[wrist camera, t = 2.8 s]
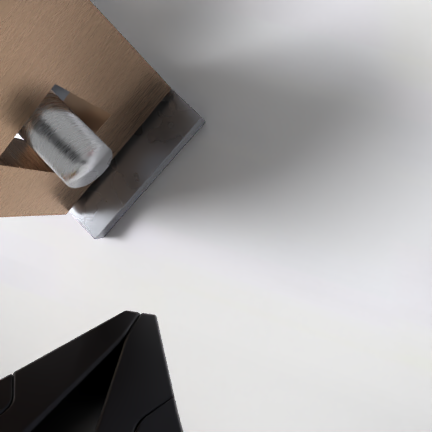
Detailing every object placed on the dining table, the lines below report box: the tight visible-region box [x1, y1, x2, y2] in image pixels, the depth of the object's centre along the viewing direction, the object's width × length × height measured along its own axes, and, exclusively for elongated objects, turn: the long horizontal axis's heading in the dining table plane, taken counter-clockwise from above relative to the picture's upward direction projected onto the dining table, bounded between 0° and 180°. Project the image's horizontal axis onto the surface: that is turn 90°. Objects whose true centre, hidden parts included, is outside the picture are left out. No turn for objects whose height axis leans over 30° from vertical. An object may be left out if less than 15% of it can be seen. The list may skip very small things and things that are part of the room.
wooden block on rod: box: [0, 0, 171, 217], centre depth 14 cm, size 2×10×10 cm, turn 136°
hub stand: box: [15, 84, 205, 239], centre depth 16 cm, size 14×10×11 cm
